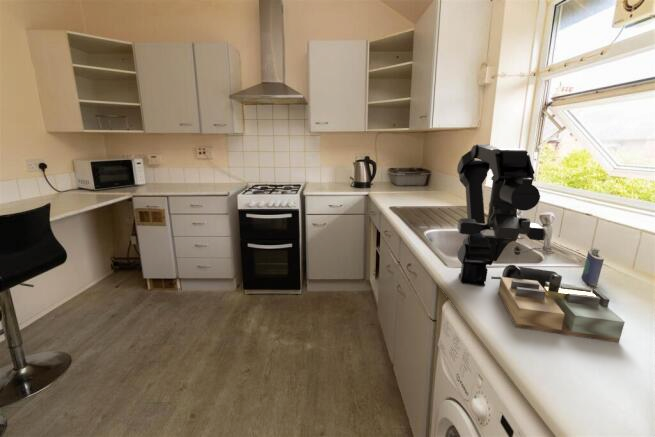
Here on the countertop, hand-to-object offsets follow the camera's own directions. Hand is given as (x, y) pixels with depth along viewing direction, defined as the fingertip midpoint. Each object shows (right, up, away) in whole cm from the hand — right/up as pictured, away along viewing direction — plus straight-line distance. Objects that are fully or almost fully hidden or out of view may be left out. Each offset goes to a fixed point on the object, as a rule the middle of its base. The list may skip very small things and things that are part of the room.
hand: (494, 260), depth 81 cm
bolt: (+16, -8, -4) cm, 18 cm away
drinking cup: (+24, -7, +11) cm, 27 cm away
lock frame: (+13, -13, -2) cm, 19 cm away
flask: (+38, -9, +16) cm, 42 cm away
